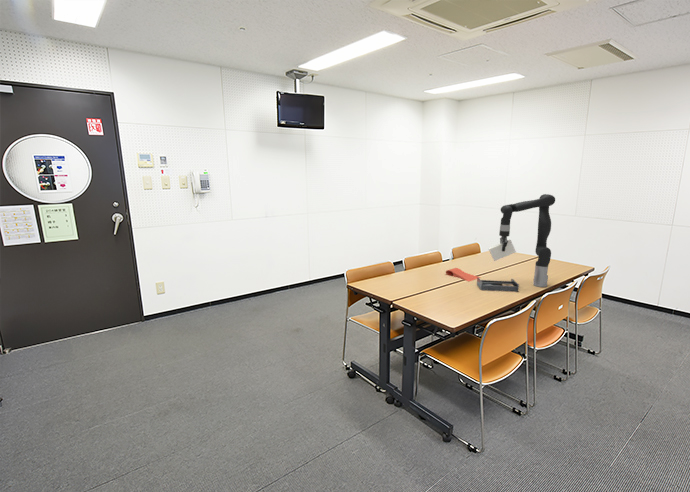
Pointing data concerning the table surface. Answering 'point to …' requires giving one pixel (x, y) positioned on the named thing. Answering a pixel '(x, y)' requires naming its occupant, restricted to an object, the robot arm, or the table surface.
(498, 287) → the rack
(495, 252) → the white flat board
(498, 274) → the table surface
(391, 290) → the table surface
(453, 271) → the sheet
